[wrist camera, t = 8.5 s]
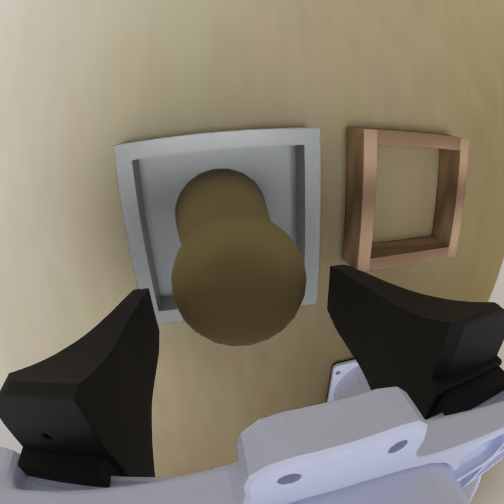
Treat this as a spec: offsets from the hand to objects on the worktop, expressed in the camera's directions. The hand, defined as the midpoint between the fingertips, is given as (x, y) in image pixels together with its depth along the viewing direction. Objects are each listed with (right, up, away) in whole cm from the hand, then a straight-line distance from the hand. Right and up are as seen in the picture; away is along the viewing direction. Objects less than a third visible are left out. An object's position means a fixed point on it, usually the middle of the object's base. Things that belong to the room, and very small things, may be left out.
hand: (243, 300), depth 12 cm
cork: (-2, +4, +9) cm, 10 cm away
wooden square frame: (+12, +6, +11) cm, 17 cm away
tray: (-2, +4, +9) cm, 10 cm away
